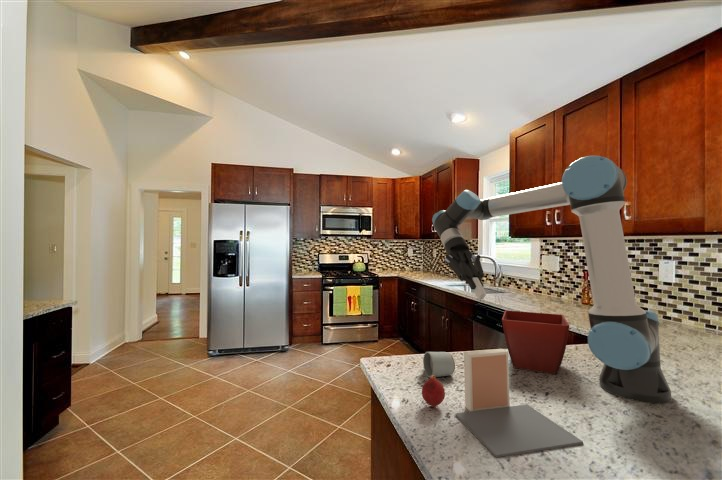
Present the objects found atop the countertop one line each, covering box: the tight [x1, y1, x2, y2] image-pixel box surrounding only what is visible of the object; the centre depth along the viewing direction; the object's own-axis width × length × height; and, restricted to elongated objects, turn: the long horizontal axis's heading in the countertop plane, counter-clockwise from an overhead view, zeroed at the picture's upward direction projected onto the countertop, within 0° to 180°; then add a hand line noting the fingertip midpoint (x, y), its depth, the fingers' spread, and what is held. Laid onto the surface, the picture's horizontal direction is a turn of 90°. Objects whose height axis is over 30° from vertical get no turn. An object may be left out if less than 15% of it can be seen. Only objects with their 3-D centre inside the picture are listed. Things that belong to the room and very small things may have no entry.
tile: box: [463, 348, 511, 412], centre depth 80 cm, size 11×3×14 cm, turn 101°
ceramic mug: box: [422, 351, 456, 379], centre depth 102 cm, size 11×8×8 cm
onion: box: [421, 375, 446, 408], centre depth 80 cm, size 6×6×8 cm
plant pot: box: [501, 310, 570, 375], centre depth 108 cm, size 19×19×17 cm
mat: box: [454, 403, 584, 459], centre depth 70 cm, size 16×20×1 cm
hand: (482, 296), depth 95 cm, fingers closed
